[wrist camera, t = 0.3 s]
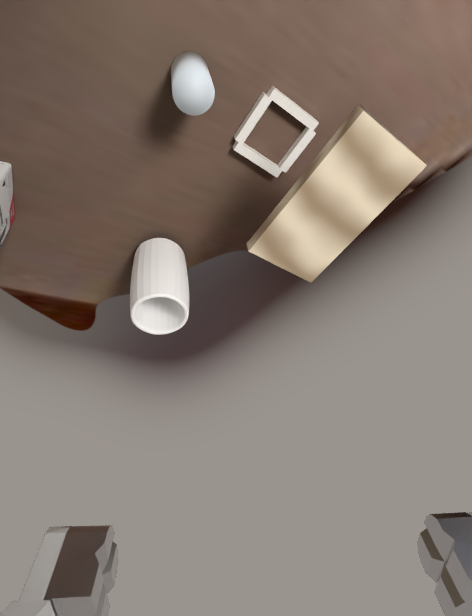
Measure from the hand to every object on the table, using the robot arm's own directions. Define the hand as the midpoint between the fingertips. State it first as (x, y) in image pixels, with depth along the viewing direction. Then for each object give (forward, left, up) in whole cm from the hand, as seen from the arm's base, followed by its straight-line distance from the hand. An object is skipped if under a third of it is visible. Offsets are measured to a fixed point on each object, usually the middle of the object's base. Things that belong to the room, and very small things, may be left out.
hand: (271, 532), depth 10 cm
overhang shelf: (+1, +18, -50) cm, 53 cm away
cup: (+26, +10, -50) cm, 57 cm away
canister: (+1, +1, -50) cm, 50 cm away
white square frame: (+1, +14, -50) cm, 52 cm away
